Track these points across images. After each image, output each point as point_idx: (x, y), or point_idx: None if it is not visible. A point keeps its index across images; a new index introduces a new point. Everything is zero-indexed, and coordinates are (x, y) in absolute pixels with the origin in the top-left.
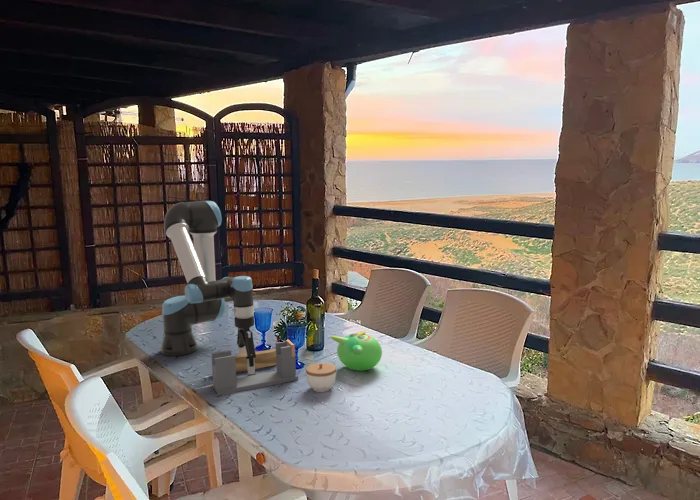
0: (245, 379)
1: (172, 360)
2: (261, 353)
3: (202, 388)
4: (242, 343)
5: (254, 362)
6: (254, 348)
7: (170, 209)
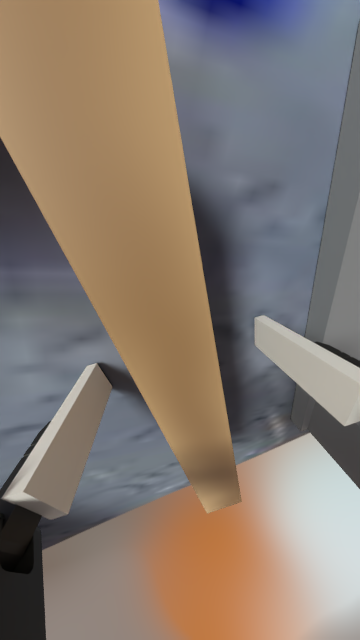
0: (347, 353)
1: (66, 524)
2: (202, 305)
3: (287, 433)
4: (14, 621)
5: (323, 348)
6: None
7: None
